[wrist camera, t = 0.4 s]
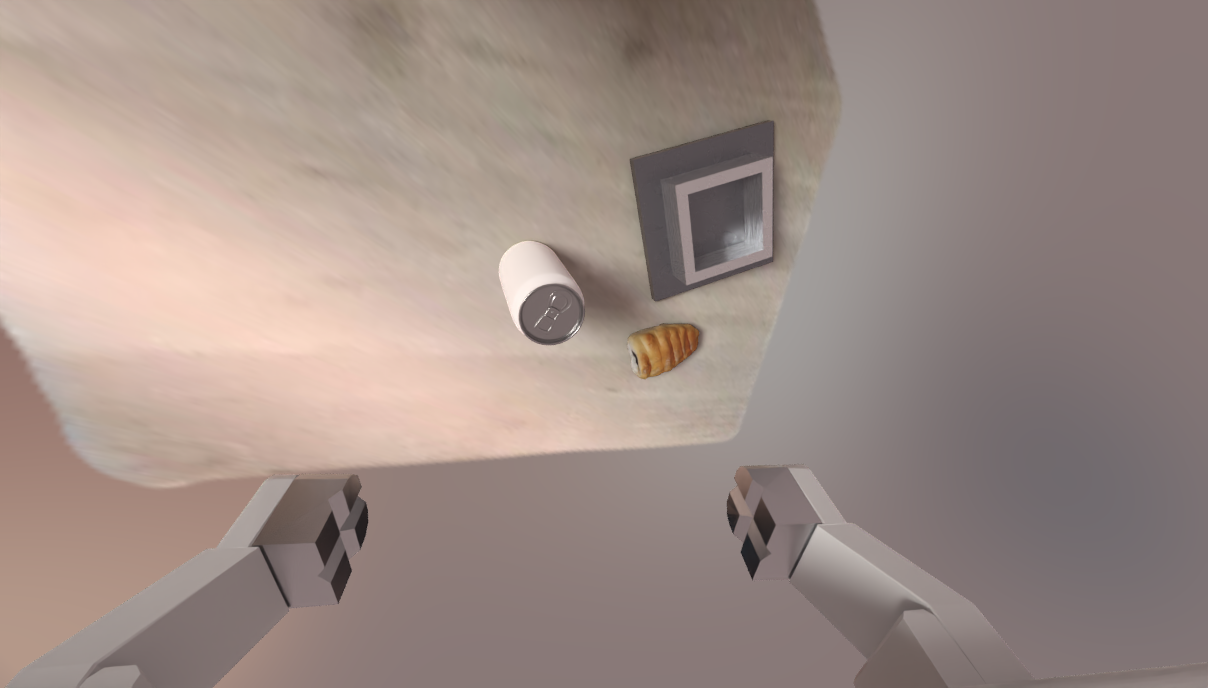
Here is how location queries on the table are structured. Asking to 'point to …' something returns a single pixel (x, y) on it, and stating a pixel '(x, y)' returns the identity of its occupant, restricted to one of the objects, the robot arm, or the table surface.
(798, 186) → the table surface
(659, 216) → the collar
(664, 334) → the pastry
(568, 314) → the can
